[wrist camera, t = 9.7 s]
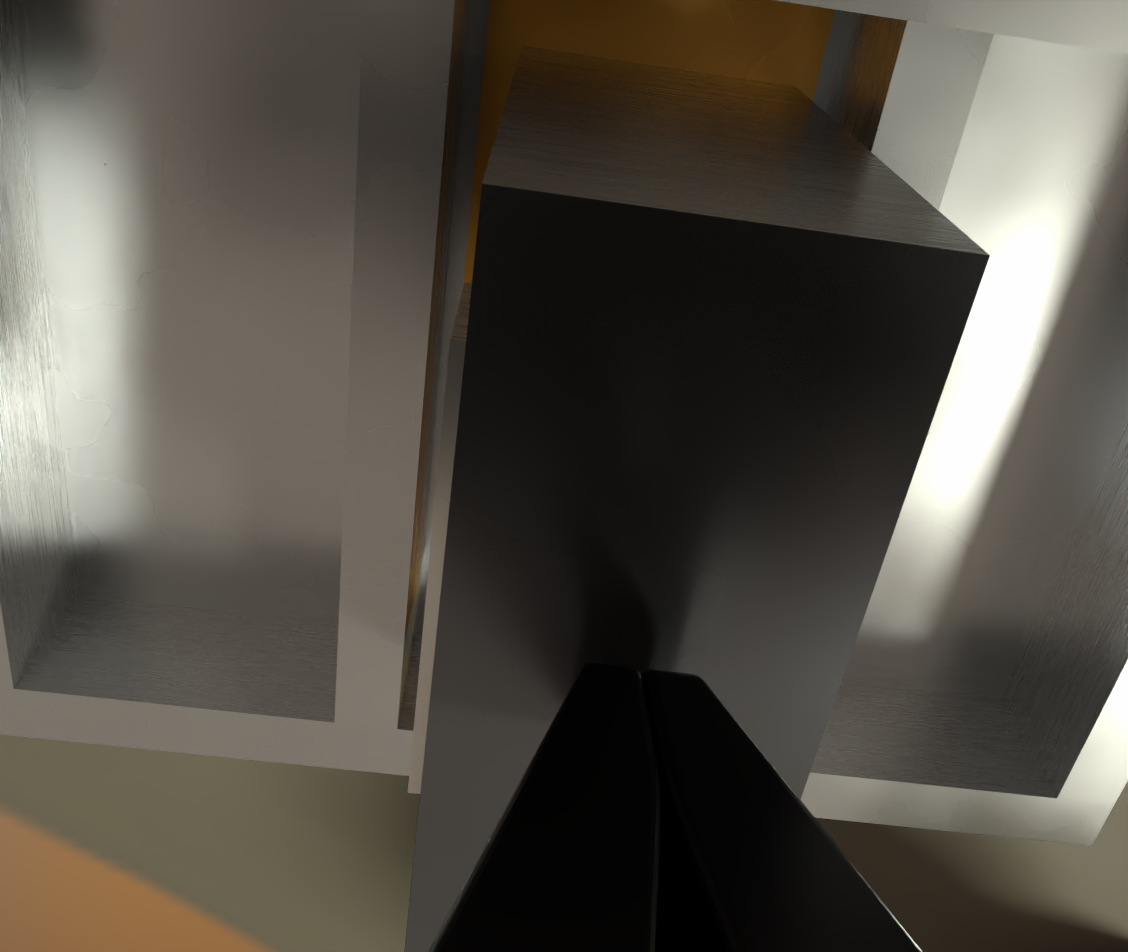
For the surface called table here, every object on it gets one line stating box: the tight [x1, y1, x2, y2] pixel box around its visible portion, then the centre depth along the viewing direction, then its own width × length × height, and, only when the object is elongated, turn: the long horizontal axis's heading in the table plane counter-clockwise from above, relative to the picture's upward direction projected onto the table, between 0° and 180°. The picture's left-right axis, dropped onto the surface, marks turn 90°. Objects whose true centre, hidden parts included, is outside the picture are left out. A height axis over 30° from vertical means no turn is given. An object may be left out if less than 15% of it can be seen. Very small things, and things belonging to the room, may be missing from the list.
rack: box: [0, 0, 1128, 846], centre depth 13 cm, size 15×11×3 cm
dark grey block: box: [404, 46, 990, 952], centre depth 10 cm, size 3×7×6 cm, turn 172°
